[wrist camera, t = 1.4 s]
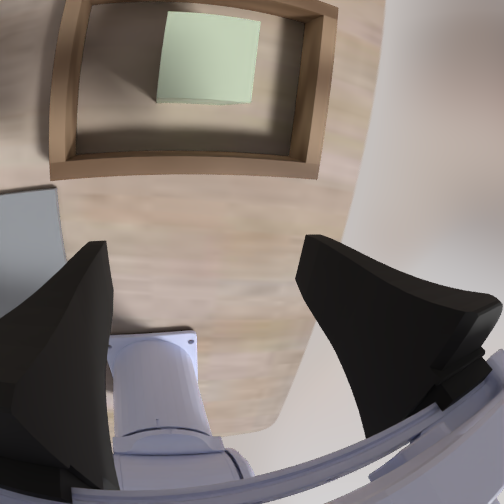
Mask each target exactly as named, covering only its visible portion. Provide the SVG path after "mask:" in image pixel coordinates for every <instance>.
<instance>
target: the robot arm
mask: <svg viewBox="0 0 504 504" xmlns="http://www.w3.org/2000/svg"><path fill="white" fill-rule="evenodd" d="M295 280H296V282H297V285H298V287H299V290H300V292H301V294H302V297H303V299H304V301H305V302H306V304H307V306H308V307H309V309H310V311H311V312H312V314H313V316H314V317H315V319H316V320H317V322H318V323H319V325H320V327H321V328H322V330H323V331H324V333H325V335H326V336H327V338H328V339H329V341H330V343H331V344H332V346H333V348H334V350H335V352H336V354H337V356H338V358H339V361H340V363H341V365H342V367H343V369H344V372H345V374H346V377H347V379H348V382H349V384H350V386H351V389H352V392H353V395H354V397H355V401H356V404H357V407H358V409H359V413H360V417H361V421H362V424H363V428H364V432H365V437H366V439H365V440H362V441H360V442H358V443H356V444H354V445H351V446H348V447H346V448H344V449H341V450H338V451H336V452H333V453H331V454H328V455H325V456H322V457H320V458H317V459H314V460H311V461H308V462H305V463H302V464H299V465H296V466H292V467H288V468H285V469H281V470H278V471H274V472H270V473H266V474H263V475H258V476H255V474H254V472H253V470H252V468H251V466H250V464H249V463H248V461H247V460H246V459H245V458H244V457H243V456H242V455H240V454H239V452H237V451H236V450H235V449H233V448H224V445H223V442H222V440H221V437H220V436H212V434H211V430H210V427H209V424H208V420H207V416H206V413H205V409H204V406H203V402H202V398H201V394H200V391H199V387H198V373H197V335H196V332H195V331H193V330H187V331H175V332H162V333H147V334H128V335H110V330H111V323H112V316H113V291H114V290H113V285H112V279H111V272H110V266H109V259H108V251H107V244H106V241H89V242H88V243H87V244H86V245H85V246H83V247H82V248H81V249H80V250H79V251H78V252H77V253H76V254H75V255H74V256H73V257H72V258H71V259H70V260H69V261H68V262H67V263H66V264H65V265H64V266H63V267H62V268H61V269H60V270H59V271H58V272H57V273H56V274H55V275H53V276H52V277H51V278H50V279H49V280H48V281H47V282H46V283H45V284H44V285H43V286H42V287H41V288H39V289H38V290H37V291H36V292H35V293H34V294H32V295H31V296H30V297H29V298H27V299H26V300H25V301H24V302H22V303H21V304H20V305H18V306H17V307H16V308H14V309H13V310H11V311H10V312H8V313H7V314H6V315H4V316H3V317H1V318H0V504H262V503H266V502H270V501H274V500H277V499H281V498H284V497H288V496H291V495H294V494H297V493H300V492H303V491H306V490H309V489H312V488H315V487H317V486H320V485H323V484H325V483H327V482H330V481H333V480H335V479H338V478H340V477H342V476H345V475H347V474H349V473H352V472H354V471H356V470H358V469H360V468H363V467H364V466H367V465H369V464H370V463H373V462H375V461H377V460H379V459H380V458H383V457H385V456H386V455H388V454H390V453H392V452H394V451H395V450H397V449H399V448H401V447H402V446H404V445H406V444H408V443H409V442H410V444H409V445H408V446H407V447H405V448H404V449H402V450H401V451H400V452H399V453H398V454H397V455H396V456H395V457H393V458H392V459H391V460H389V461H388V462H387V463H385V464H384V465H383V466H381V467H380V468H378V469H377V470H376V471H374V472H372V473H371V474H369V476H368V477H369V479H370V481H371V482H370V483H368V484H367V485H365V486H363V487H361V488H358V489H356V490H354V491H352V492H350V493H348V494H346V495H344V496H341V497H339V498H337V499H334V500H332V501H330V502H328V503H325V504H500V503H499V501H498V500H497V496H498V495H499V494H500V493H501V492H502V490H503V489H504V350H503V349H499V350H498V351H497V352H496V353H494V354H493V355H492V356H491V357H490V358H489V359H488V360H487V361H485V360H484V359H483V358H482V356H483V355H484V354H485V350H484V349H483V348H482V347H481V345H482V344H483V343H484V341H485V340H486V338H487V337H488V335H489V334H490V332H491V331H492V329H493V328H494V326H495V324H496V323H497V321H498V319H499V317H500V315H501V312H502V307H503V306H502V303H501V302H500V301H499V300H498V299H497V298H496V297H494V296H492V295H490V294H485V293H478V292H471V291H464V290H459V289H454V288H450V287H446V286H443V285H438V284H435V283H432V282H429V281H426V280H422V279H419V278H416V277H414V276H411V275H409V274H406V273H403V272H401V271H398V270H396V269H394V268H391V267H389V266H387V265H385V264H383V263H380V262H378V261H376V260H374V259H372V258H370V257H368V256H366V255H364V254H362V253H360V252H358V251H356V250H354V249H352V248H350V247H348V246H346V245H344V244H342V243H340V242H338V241H335V240H333V239H331V238H328V237H326V236H323V235H306V236H305V240H304V245H303V249H302V253H301V257H300V261H299V265H298V270H297V274H296V278H295ZM189 340H192V341H189ZM108 345H111V346H108ZM107 361H108V364H109V367H110V370H111V373H112V376H113V379H114V380H113V399H114V431H115V437H113V452H114V454H113V453H112V448H111V442H110V435H109V426H108V416H107V405H106V383H105V378H106V363H107Z"/></svg>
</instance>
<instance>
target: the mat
mask: <svg viewBox="0 0 504 504" xmlns="http://www.w3.org/2000/svg"><path fill="white" fill-rule="evenodd" d="M66 263H67V260H66V255H65V249H64V243H63V237H62V230H61V223H60V215H59V206H58V195H57V188H48V189H39V190H30V191H21V192H13V193H6V194H0V318H1V317H3V316H4V315H6V314H7V313H8V312H10V311H11V310H13V309H14V308H16V307H17V306H18V305H20V304H21V303H22V302H24V301H25V300H26V299H27V298H29V297H30V296H31V295H32V294H34V293H35V292H36V291H37V290H38V289H39V288H41V287H42V286H43V285H44V284H45V283H46V282H47V281H48V280H49V279H50V278H51V277H52V276H53V275H55V274H56V273H57V272H58V271H59V270H60V269H61V268H62V267H63V266H64V265H65V264H66Z"/></svg>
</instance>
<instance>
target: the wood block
mask: <svg viewBox="0 0 504 504" xmlns="http://www.w3.org/2000/svg"><path fill="white" fill-rule="evenodd" d="M260 24H261V22H259V21H254V20H248V19H242V18H236V17H229V16H222V15H213V14H203V13H190V12H170V11H168V16H167V21H166V27H165V33H164V40H163V47H162V54H161V62H160V70H159V79H158V88H157V102H156V103H186V104H208V105H231V104H244V103H251V98H252V89H253V81H254V72H255V64H256V56H257V48H258V39H259V32H260Z"/></svg>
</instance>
